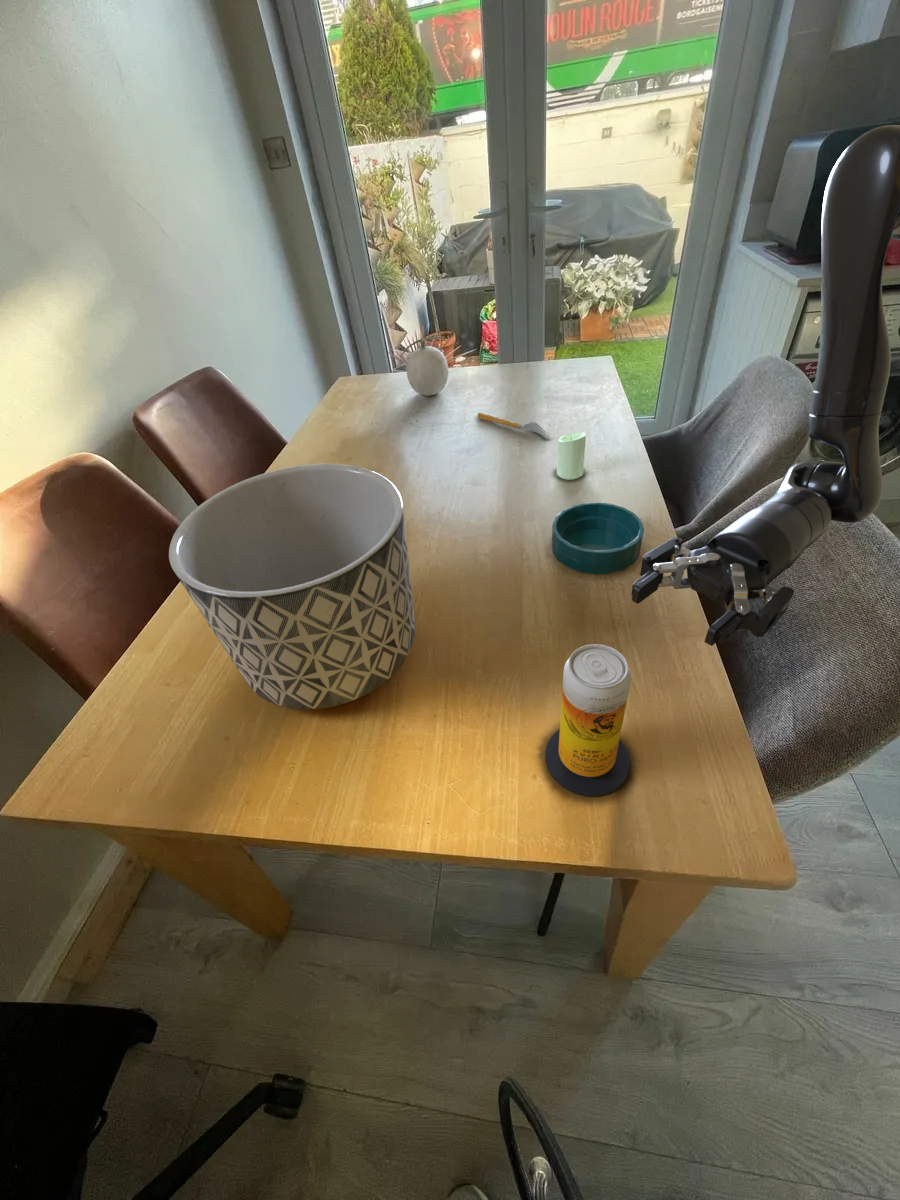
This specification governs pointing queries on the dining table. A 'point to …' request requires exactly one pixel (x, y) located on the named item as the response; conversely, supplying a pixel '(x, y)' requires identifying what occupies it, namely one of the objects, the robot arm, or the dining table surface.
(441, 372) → the fruit
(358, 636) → the planter
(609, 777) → the coaster
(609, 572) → the bowl
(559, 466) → the candle
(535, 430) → the fork
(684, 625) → the dining table surface
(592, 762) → the beer can
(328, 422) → the dining table surface
